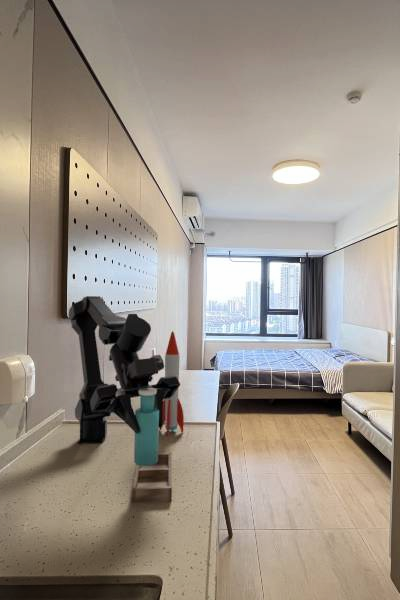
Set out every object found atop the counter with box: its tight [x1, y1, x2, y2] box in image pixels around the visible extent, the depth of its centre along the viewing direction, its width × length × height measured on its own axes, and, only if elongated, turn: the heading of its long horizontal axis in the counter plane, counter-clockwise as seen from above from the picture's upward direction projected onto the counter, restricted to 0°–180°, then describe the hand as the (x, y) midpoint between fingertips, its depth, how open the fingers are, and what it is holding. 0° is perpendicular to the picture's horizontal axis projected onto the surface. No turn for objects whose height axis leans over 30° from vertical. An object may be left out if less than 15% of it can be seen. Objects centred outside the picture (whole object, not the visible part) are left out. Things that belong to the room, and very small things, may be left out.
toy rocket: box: [159, 330, 185, 437], centre depth 101 cm, size 6×6×30 cm
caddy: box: [131, 452, 173, 504], centre depth 74 cm, size 8×15×3 cm, turn 5°
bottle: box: [133, 388, 160, 466], centre depth 69 cm, size 5×5×14 cm
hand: (150, 429), depth 68 cm, fingers closed on bottle, 5 cm apart
